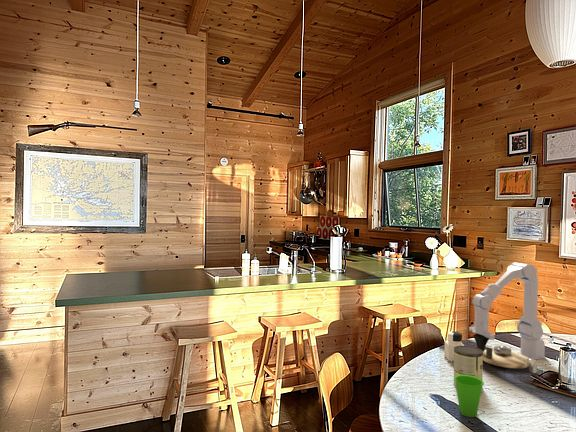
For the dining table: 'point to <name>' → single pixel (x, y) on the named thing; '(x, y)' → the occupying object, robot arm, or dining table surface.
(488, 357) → the platter
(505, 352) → the cover
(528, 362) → the silver knobbed piece
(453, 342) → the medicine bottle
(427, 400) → the dining table surface
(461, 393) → the cup
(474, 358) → the coffee can
